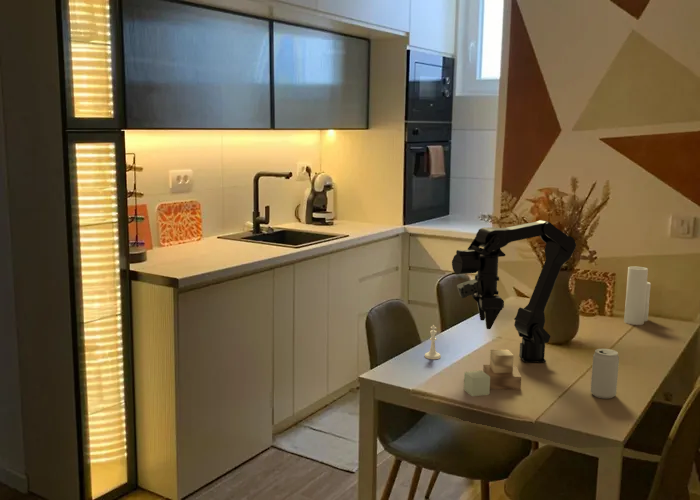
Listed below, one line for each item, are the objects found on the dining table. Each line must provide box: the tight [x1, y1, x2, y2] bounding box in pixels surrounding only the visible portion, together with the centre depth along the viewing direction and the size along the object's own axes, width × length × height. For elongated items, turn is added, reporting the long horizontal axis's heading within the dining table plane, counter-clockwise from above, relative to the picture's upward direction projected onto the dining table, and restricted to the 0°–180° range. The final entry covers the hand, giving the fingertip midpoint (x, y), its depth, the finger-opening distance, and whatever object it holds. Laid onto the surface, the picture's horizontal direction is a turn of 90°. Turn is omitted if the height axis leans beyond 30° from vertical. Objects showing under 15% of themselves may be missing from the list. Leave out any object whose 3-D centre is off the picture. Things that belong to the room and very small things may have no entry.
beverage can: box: [590, 348, 620, 400], centre depth 188 cm, size 6×6×12 cm
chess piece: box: [424, 324, 442, 360], centre depth 218 cm, size 5×5×10 cm
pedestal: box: [482, 364, 522, 391], centre depth 197 cm, size 9×9×4 cm
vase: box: [623, 265, 652, 326], centre depth 259 cm, size 11×7×20 cm, turn 144°
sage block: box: [463, 369, 490, 397], centre depth 190 cm, size 5×5×5 cm
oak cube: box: [489, 349, 514, 373], centre depth 196 cm, size 5×5×5 cm
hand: (485, 324), depth 209 cm, fingers open, 9 cm apart
